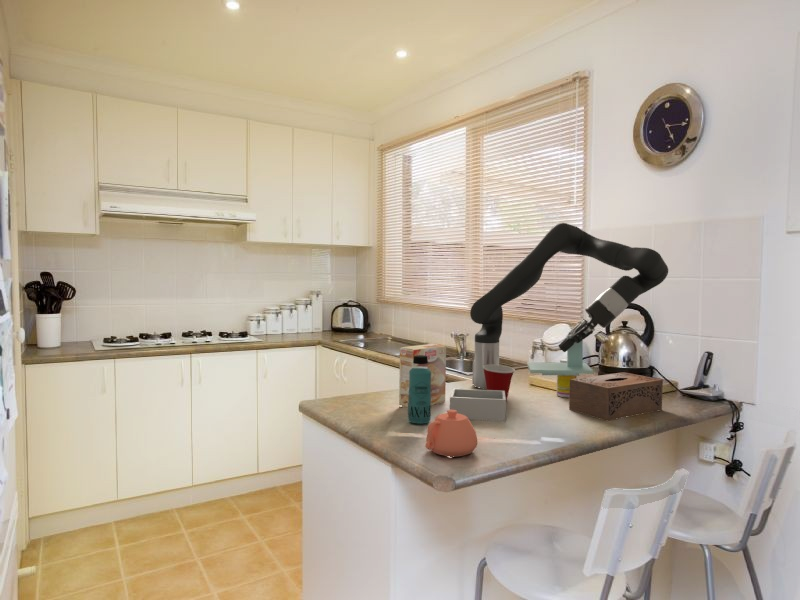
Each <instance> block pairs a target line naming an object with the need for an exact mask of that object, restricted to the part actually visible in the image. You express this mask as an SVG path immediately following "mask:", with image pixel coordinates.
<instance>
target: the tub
mask: <svg viewBox="0 0 800 600" xmlns="http://www.w3.org/2000/svg"><path fill="white" fill-rule="evenodd" d="M506 408H507V401H506V397H505V391H499V390H487V389H472V388H471V389H469V388H452V390H451V393H450V395H449V410H456V411H457V413H458V414H462V415H465V416H466V417H467V418H468V419H469V421H470V420H471V421H489V422H491V421H492V422H506V415H507V414H506V413H507V411H506V410H507V409H506Z"/></svg>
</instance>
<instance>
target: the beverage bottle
mask: <svg viewBox="0 0 800 600" xmlns="http://www.w3.org/2000/svg"><path fill="white" fill-rule="evenodd" d="M413 363H414V364H427V363H428V358H427V356H425V355H416V356H414V360H413ZM408 393H409V396H408V400H409V404H408V407H407V408H408V409H407V415H408V416H407V419H408V421H409V422H410V423H413V424H426V423H430V421H431V416H432V405H431V371H430V369H429V368H427V367H413V368H412V369H411V370H410V371H409V392H408Z"/></svg>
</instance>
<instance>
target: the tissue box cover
mask: <svg viewBox="0 0 800 600" xmlns="http://www.w3.org/2000/svg"><path fill="white" fill-rule="evenodd" d="M663 382H664V379H660V378H654V377H651V376H644V375H640V374H634V373H630V372H625V371H623V372H622V371H621V372H617V373H607V374H602V375H601V374H600V375H599V374H598V375H594V376H593V375H591V376H586V377H578V378H577V377H576V379H570V398H568V399H569V403H568V405H569V406H568V408H569V409H568V410H570V411H572V412H576V413H579V414H583V415H587V416H588V417H589V416H590V417H593V418H596V419H599V418H600V420H603V421H606V420H608V421H612V419H613V420H617V419H616V418H618V419H622V418H621V417H624V418H627V417H626V416H629V417H632V415H634V416H637V415H636V414H639V415H643V414H642V413H644V414H648V412H649V413H653V412H652V411H654V412H658V411H657V410H660V411H662V410H663V390H664V389H663V385H664V384H663Z"/></svg>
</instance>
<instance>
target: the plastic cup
mask: <svg viewBox="0 0 800 600" xmlns="http://www.w3.org/2000/svg"><path fill="white" fill-rule="evenodd" d="M482 367H483V369H484V374H485V380H486V388H487V389H486V390H499V391H505V397H506V402H507V401H508V398H509V397H508V396H509V391H510V387H511V382H512V379H513V375H514V373H515V372H516V369H515V368H513V367H511V366H507V365H502V364H499V365H493V364H491V365H483V366H482Z"/></svg>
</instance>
